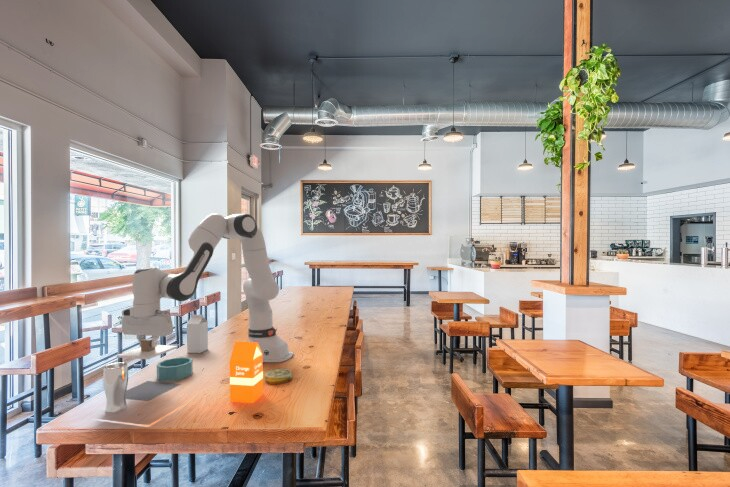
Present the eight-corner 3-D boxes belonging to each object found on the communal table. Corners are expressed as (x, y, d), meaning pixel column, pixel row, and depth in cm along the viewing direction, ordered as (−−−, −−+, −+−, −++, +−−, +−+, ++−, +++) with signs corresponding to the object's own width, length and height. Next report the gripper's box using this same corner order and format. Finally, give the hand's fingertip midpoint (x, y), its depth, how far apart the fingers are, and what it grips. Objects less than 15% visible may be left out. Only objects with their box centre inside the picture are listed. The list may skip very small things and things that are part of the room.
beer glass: (111, 406, 126) (111, 362, 126) (132, 405, 126) (132, 361, 126) (98, 415, 119) (98, 369, 119) (121, 414, 119) (120, 368, 119)
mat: (181, 385, 143) (181, 383, 143) (148, 402, 128) (148, 401, 128) (147, 382, 147) (147, 380, 147) (111, 398, 132) (111, 397, 132)
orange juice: (253, 403, 126) (252, 345, 126) (229, 401, 128) (229, 344, 128) (263, 394, 134) (262, 339, 134) (241, 392, 135) (240, 338, 136)
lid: (177, 347, 143) (177, 335, 143) (148, 359, 129) (148, 345, 129) (148, 346, 146) (147, 334, 146) (116, 357, 133) (116, 344, 133)
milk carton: (199, 353, 186) (198, 316, 186) (187, 352, 188) (186, 315, 188) (208, 349, 193) (207, 313, 193) (196, 349, 195) (195, 313, 195)
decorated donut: (297, 379, 148) (297, 370, 148) (274, 387, 140) (274, 377, 140) (282, 373, 155) (282, 365, 155) (259, 381, 147) (259, 371, 147)
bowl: (198, 372, 158) (198, 358, 158) (176, 383, 146) (176, 368, 146) (173, 370, 161) (173, 356, 161) (149, 380, 149) (149, 366, 149)
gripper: (176, 309, 138) (177, 345, 138) (132, 308, 143) (133, 343, 143) (163, 312, 132) (164, 350, 132) (117, 311, 137) (119, 348, 137)
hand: (148, 346), depth 138 cm, fingers closed on lid, 3 cm apart
